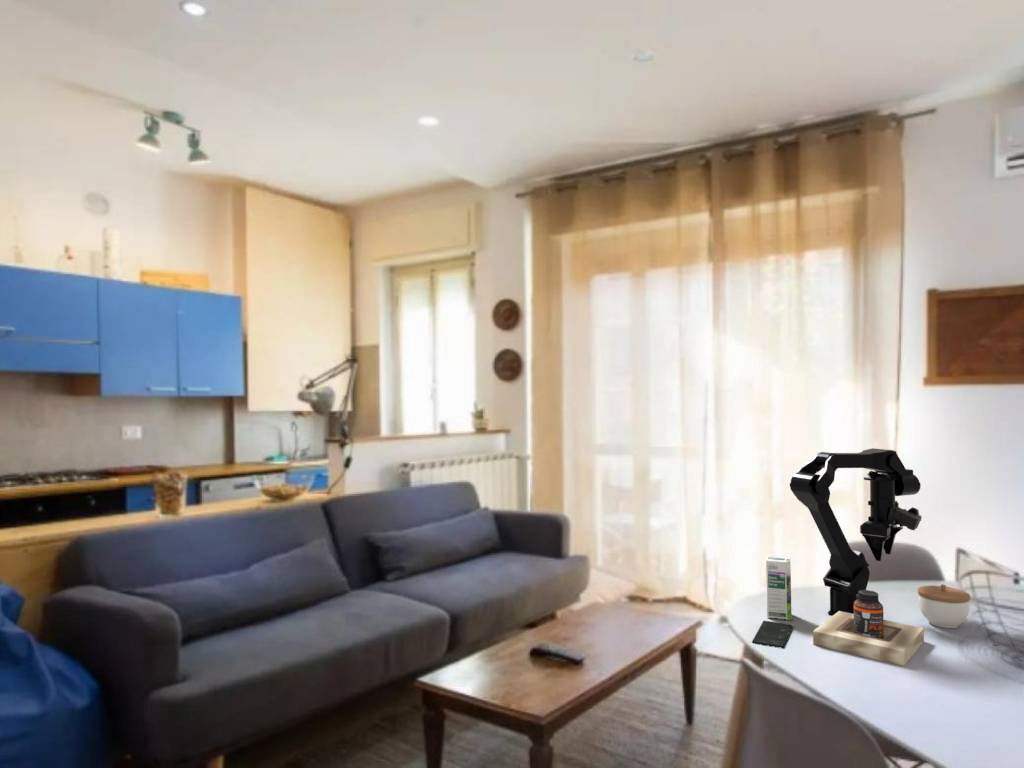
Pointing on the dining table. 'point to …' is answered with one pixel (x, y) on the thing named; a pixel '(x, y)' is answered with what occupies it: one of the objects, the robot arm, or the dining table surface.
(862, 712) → the dining table surface
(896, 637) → the maple socket board
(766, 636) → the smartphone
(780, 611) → the syrup box
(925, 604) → the lidded jar
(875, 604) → the supplement bottle
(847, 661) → the dining table surface
